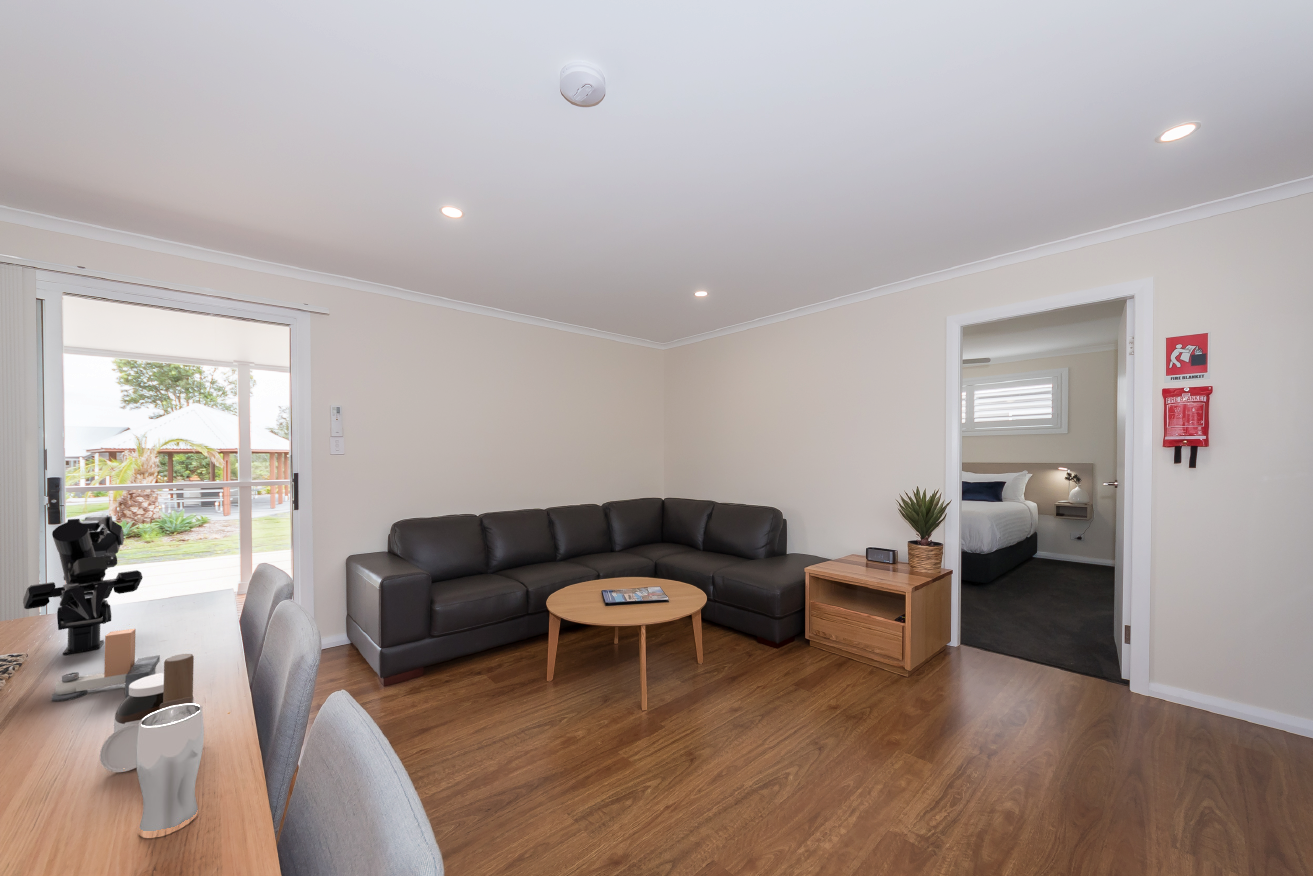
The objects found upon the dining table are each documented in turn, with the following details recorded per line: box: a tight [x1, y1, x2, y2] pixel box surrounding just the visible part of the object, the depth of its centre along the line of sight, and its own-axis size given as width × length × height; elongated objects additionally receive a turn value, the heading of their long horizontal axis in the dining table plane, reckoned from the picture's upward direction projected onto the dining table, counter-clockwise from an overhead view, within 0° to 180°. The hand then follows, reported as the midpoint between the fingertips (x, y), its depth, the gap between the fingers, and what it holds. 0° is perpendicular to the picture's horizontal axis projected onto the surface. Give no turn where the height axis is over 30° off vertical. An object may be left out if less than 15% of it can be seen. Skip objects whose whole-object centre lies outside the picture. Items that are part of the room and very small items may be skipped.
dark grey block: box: [124, 654, 161, 700], centre depth 114 cm, size 4×11×5 cm, turn 35°
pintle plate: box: [51, 672, 89, 703], centre depth 110 cm, size 5×5×4 cm
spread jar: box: [99, 672, 195, 773], centre depth 90 cm, size 12×11×12 cm
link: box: [55, 628, 157, 695], centre depth 113 cm, size 15×4×11 cm, turn 121°
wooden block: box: [160, 653, 195, 710], centre depth 83 cm, size 4×11×18 cm, turn 41°
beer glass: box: [135, 703, 205, 831], centre depth 73 cm, size 7×7×15 cm
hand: (93, 617), depth 122 cm, fingers closed
